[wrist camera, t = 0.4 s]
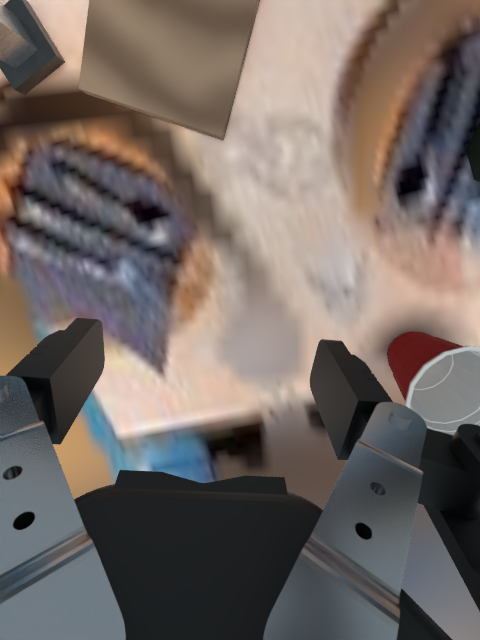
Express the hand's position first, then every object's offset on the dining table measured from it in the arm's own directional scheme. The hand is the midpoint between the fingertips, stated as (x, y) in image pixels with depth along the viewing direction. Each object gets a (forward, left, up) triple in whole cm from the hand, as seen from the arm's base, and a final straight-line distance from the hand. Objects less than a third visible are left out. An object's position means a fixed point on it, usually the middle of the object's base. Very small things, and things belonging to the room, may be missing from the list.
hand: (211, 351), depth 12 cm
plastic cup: (+5, +24, -28) cm, 37 cm away
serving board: (-21, -13, -28) cm, 37 cm away
